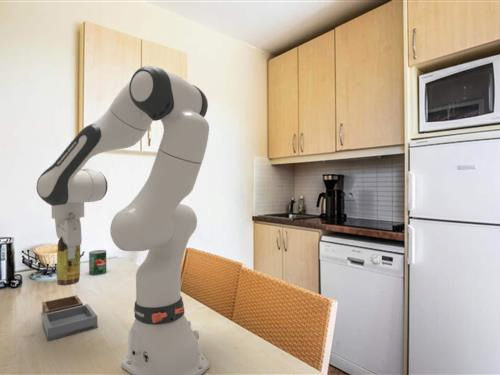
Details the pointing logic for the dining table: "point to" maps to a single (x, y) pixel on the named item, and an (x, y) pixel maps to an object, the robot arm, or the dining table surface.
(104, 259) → the canned tomato
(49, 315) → the grey tray
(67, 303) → the walnut collar
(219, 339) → the dining table surface
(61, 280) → the sauce bottle
